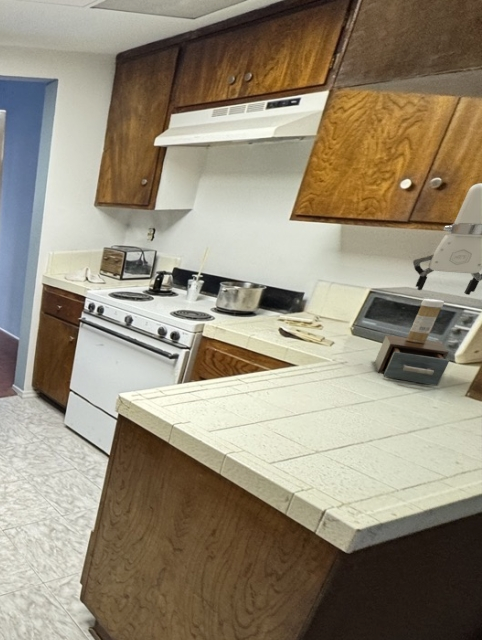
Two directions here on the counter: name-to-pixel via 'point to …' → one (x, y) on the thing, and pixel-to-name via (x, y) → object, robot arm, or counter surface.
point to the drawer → (415, 365)
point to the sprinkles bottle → (424, 320)
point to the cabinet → (403, 343)
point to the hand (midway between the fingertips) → (442, 291)
